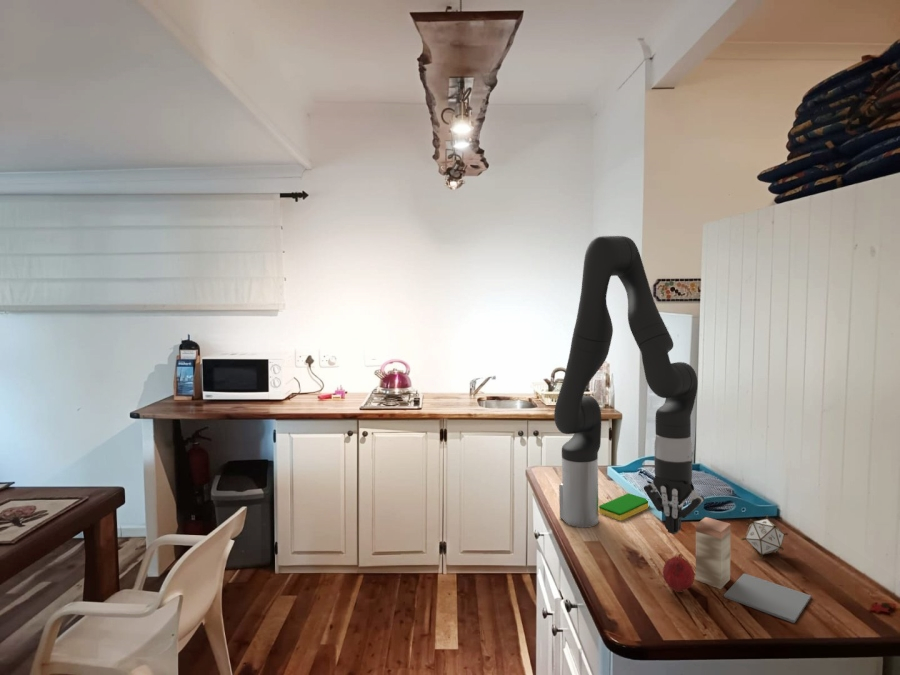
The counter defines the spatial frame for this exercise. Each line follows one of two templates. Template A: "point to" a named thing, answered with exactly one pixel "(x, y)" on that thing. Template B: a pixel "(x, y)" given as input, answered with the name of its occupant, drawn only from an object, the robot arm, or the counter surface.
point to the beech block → (713, 552)
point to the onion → (678, 573)
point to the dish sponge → (623, 506)
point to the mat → (768, 597)
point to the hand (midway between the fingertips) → (673, 532)
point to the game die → (764, 536)
